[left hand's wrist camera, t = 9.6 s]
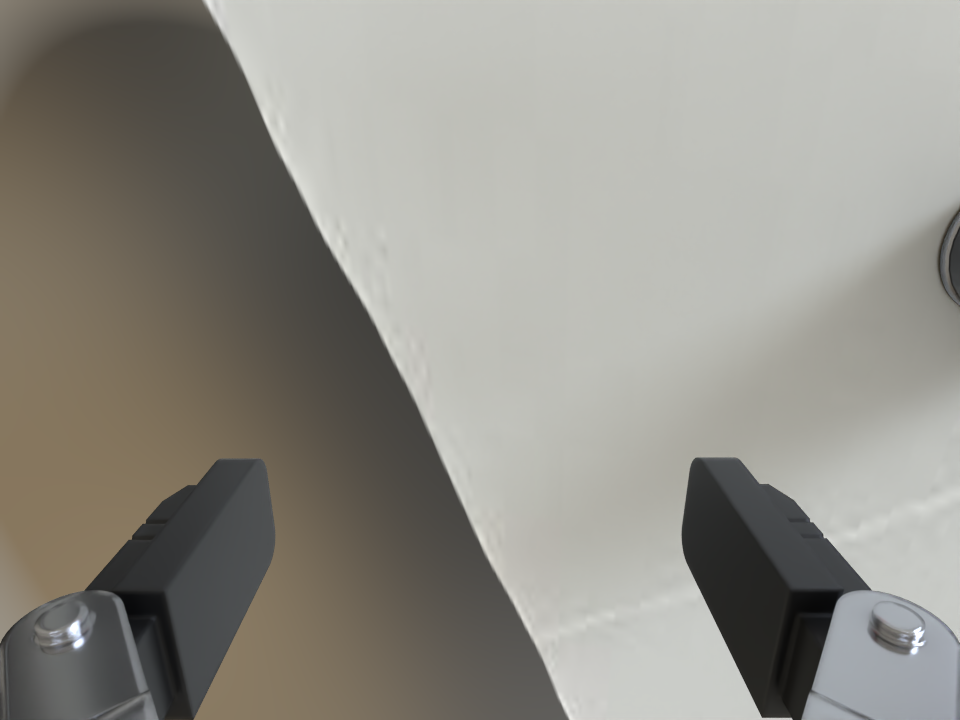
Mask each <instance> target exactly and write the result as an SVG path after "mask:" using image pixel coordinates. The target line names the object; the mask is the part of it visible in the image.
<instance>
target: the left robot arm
mask: <svg viewBox="0 0 960 720" xmlns="http://www.w3.org/2000/svg"><path fill="white" fill-rule="evenodd" d="M940 272H941V277H942V281H943V284H944V286H945V289H946V290H947V292H948V294H949V295H950V297H951V298H952V299H953V300H954V301H955V302H956V303H957V304H958V305H960V212H959V213H958V214H957V216H956V217H955V219H954V220H953V222H952V224H951V226H950V228H949V229H948V232H947V234H946V236H945V239H944V242H943V246H942V250H941V256H940ZM274 546H275V526H274V519H273V511H272V504H271V497H270V490H269V483H268V475H267V469H266V466H265V463H264V461H263V460H262V459H219V460H217V461H216V462H215V463H214V465H213V466H212V467H211V468H210V469H209V471H208V472H207V473H206V474H205V476H204V477H203V478H202V479H201V480H200V482H199V483H198V484H197V485H188V486H186V487H185V488H183V489H181V490H180V491H178V492H176V493H175V494H173V495H172V496H170V497H169V498H167V499H165V500H164V501H162V502H161V504H160V505H159V506H158V507H157V508H156V509H155V510H154V512H153V513H152V514H151V515H150V516H149V517H148V519H147V520H146V524H142V525H141V526H140V528H139V529H138V530H137V531H136V532H135V533H134V534H133V536H132V540H128V541H127V543H126V544H125V545H124V546H123V547H122V548H121V549H120V550H119V552H118V553H117V554H116V555H115V556H114V557H113V559H112V560H111V561H110V562H109V563H108V564H107V565H106V567H105V568H104V569H103V570H102V571H101V572H100V573H99V575H98V576H97V577H96V578H95V579H94V580H93V581H92V583H91V584H90V585H89V586H88V587H87V588H86V589H85V591H81V592H76V593H72V594H68V595H65V596H62V597H59V598H57V599H54V600H52V601H49V602H47V603H45V604H43V605H41V606H39V607H38V608H36V609H34V610H33V611H31V612H29V613H28V614H27V615H25V616H24V617H23V618H21V619H20V620H19V621H18V622H17V623H15V624H14V625H13V626H12V627H11V628H10V630H9V631H8V632H7V633H6V635H5V636H4V637H3V639H2V641H1V643H0V720H193V719H194V717H195V715H196V713H197V711H198V709H199V707H200V705H201V703H202V701H203V699H204V697H205V695H206V693H207V691H208V689H209V687H210V685H211V683H212V681H213V679H214V677H215V675H216V673H217V671H218V669H219V667H220V665H221V663H222V661H223V659H224V657H225V655H226V652H227V651H228V648H229V646H230V644H231V642H232V640H233V638H234V636H235V634H236V632H237V630H238V628H239V626H240V624H241V622H242V620H243V618H244V616H245V614H246V612H247V610H248V608H249V606H250V604H251V602H252V600H253V598H254V596H255V594H256V592H257V590H258V588H259V586H260V584H261V582H262V580H263V577H264V575H265V573H266V571H267V569H268V567H269V565H270V563H271V560H272V557H273V552H274ZM682 546H683V552H684V556H685V559H686V562H687V564H688V566H689V569H690V571H691V573H692V575H693V577H694V579H695V581H696V583H697V585H698V587H699V589H700V591H701V593H702V595H703V597H704V599H705V601H706V603H707V605H708V608H709V610H710V612H711V614H712V616H713V618H714V620H715V622H716V624H717V626H718V628H719V630H720V632H721V634H722V636H723V638H724V640H725V642H726V644H727V647H728V649H729V651H730V653H731V655H732V657H733V659H734V661H735V663H736V665H737V667H738V669H739V671H740V673H741V675H742V677H743V679H744V681H745V684H746V686H747V688H748V690H749V692H750V694H751V696H752V698H753V700H754V702H755V704H756V706H757V708H758V710H759V712H760V714H761V716H762V718H792V719H793V720H960V643H959V641H958V639H957V637H956V636H955V635H954V633H953V632H952V631H951V630H950V628H949V627H948V626H947V625H946V624H945V623H943V622H942V621H941V620H940V619H939V618H938V617H936V616H935V615H933V614H932V613H931V612H929V611H927V610H926V609H924V608H922V607H921V606H919V605H917V604H915V603H913V602H911V601H908V600H906V599H903V598H901V597H898V596H895V595H892V594H888V593H884V592H879V591H872V590H871V589H870V588H869V587H868V585H867V584H866V583H865V582H864V581H863V580H862V578H861V577H860V576H859V575H858V574H857V573H856V572H855V570H854V569H853V568H852V567H851V566H850V565H849V563H848V562H847V561H846V560H845V559H844V558H843V557H842V555H841V554H840V553H839V552H838V551H837V550H836V548H835V547H834V546H833V545H832V544H831V543H830V542H829V540H828V539H827V538H824V537H823V533H822V532H821V531H820V530H819V529H818V528H817V527H816V525H815V524H814V523H810V518H809V517H808V516H807V515H806V514H805V513H804V512H803V510H802V509H801V508H800V507H799V506H798V505H797V503H796V502H795V501H794V500H793V499H791V498H789V497H788V496H786V495H785V494H783V493H782V492H780V491H778V490H777V489H775V488H774V487H772V486H771V485H769V484H759V483H758V482H757V480H756V479H755V478H754V477H753V475H752V474H751V473H750V472H749V470H748V469H747V468H746V467H745V466H744V464H743V463H742V462H741V461H740V460H739V459H738V458H695V459H694V460H693V461H692V464H691V467H690V473H689V480H688V487H687V495H686V502H685V509H684V517H683V524H682Z"/></svg>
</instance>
